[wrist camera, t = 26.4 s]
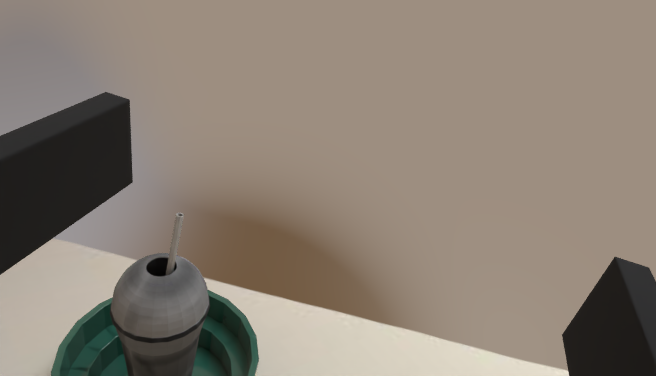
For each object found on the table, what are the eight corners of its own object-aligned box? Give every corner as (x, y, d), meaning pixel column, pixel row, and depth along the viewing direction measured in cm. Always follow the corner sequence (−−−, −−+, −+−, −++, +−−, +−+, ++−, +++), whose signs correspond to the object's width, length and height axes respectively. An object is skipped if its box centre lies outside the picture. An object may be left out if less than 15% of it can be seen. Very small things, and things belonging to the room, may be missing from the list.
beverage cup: (114, 369, 43) (99, 190, 33) (194, 351, 46) (205, 183, 36) (120, 444, 38) (104, 259, 27) (210, 418, 41) (227, 243, 30)
